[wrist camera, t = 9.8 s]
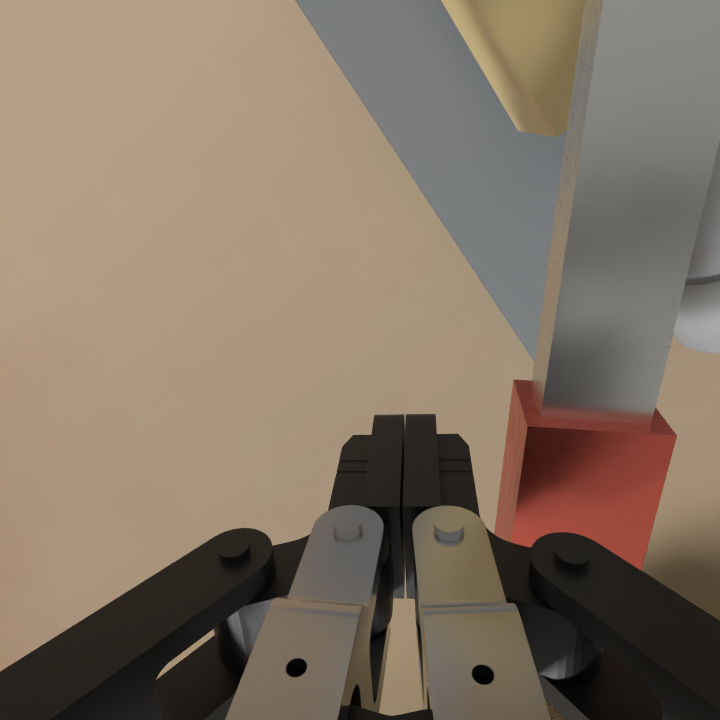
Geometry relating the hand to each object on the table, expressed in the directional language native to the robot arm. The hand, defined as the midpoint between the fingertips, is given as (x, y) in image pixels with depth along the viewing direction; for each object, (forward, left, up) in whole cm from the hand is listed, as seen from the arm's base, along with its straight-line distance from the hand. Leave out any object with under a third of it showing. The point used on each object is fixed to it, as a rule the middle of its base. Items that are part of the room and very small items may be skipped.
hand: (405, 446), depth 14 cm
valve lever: (-6, -2, +1) cm, 6 cm away
